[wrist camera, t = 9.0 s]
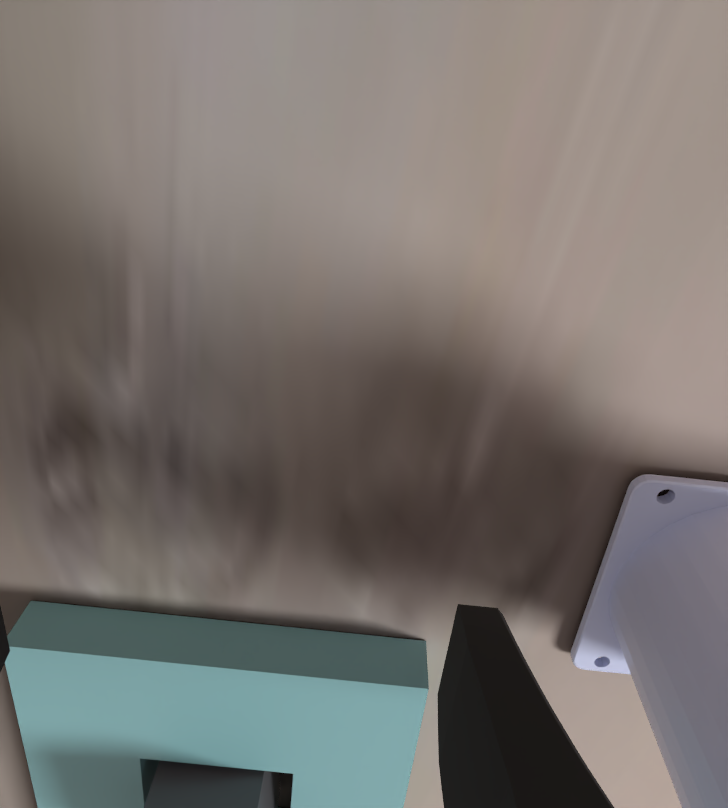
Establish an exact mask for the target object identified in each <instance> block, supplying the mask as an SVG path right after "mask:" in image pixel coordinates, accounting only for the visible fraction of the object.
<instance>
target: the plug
mask: <svg viewBox="0 0 728 808" xmlns="http://www.w3.org/2000/svg"><path fill="white" fill-rule="evenodd" d="M280 787H281V786H280V778H279V772H271V771H261V770H251V769H241V768H231V767H221V766H211V765H201V764H191V763H181V762H171V761H161V760H159V763H158V766H157V769H156V772H155V775H154V778H153V781H152V784H151V787H150V790H149V793H148V796H147V799H146V802H145V805H144V808H277V807H278V800H279V794H280Z"/></svg>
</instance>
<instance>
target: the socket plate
mask: <svg viewBox="0 0 728 808" xmlns="http://www.w3.org/2000/svg"><path fill="white" fill-rule="evenodd" d="M7 639H8V643H9V648H10V652H9V654H8V656H7V659H6V661H5V666H6V670H7V675H8V679H9V683H10V688H11V692H12V697H13V701H14V705H15V710H16V714H17V719H18V723H19V727H20V732H21V736H22V741H23V745H24V749H25V754H26V758H27V763H28V767H29V771H30V776H31V780H32V784H33V789H34V793H35V798H36V802H37V806H38V808H144V805H145V802H146V799H147V796H148V793H149V790H150V787H151V784H152V781H153V778H154V775H155V772H156V769H157V766H158V763H159V760H161V761H171V762H181V763H191V764H201V765H211V766H221V767H231V768H241V769H251V770H261V771H271V772H281V773H291V774H293V784H292V797H291V808H403V806H404V801H405V797H406V792H407V787H408V783H409V778H410V773H411V769H412V764H413V759H414V755H415V750H416V745H417V741H418V736H419V731H420V726H421V722H422V717H423V712H424V708H425V703H426V698H427V694H428V689H429V688H428V670H427V652H426V641H422V640H412V639H402V638H392V637H382V636H373V635H363V634H353V633H343V632H333V631H324V630H314V629H304V628H294V627H284V626H275V625H265V624H255V623H245V622H235V621H226V620H216V619H206V618H196V617H186V616H177V615H167V614H157V613H147V612H137V611H128V610H118V609H108V608H98V607H88V606H79V605H69V604H59V603H49V602H39V601H30V603H29V604H28V606H27V607H26V609H25V610H24V612H23V613H22V615H21V616H20V618H19V619H18V621H17V622H16V624H15V625H14V627H13V628H12V630H11V631H10V633H9V634H8V636H7ZM277 808H280V807H277Z"/></svg>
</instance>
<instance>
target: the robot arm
mask: <svg viewBox="0 0 728 808" xmlns="http://www.w3.org/2000/svg"><path fill="white" fill-rule="evenodd" d="M666 489H669V492H668V493H667V494H665V495H663V496H657V495H658V493H659V492H661V491H663V490H666ZM9 652H10V648H9V643H8V639H7V634H6V630H5V625H4V621H3V616H2V611H1V607H0V672H1V670H2V667H3V665H4V663H5V661H6V659H7V656H8V654H9ZM599 657H601V658H599ZM571 658H572V661H573V663H574V665H575V666H576V667H578V668H580V669H584V670H594V671H603V672H613V673H623V674H631V676H632V678H633V681H634V683H635V686H636V689H637V691H638V694H639V697H640V699H641V702H642V704H643V707H644V710H645V712H646V715H647V717H648V720H649V723H650V725H651V728H652V730H653V733H654V736H655V738H656V741H657V744H658V746H659V749H660V751H661V754H662V757H663V759H664V762H665V764H666V767H667V770H668V772H669V775H670V777H671V780H672V783H673V785H674V788H675V790H676V793H677V796H678V798H679V801H680V804H681V806H682V808H728V482H719V481H710V480H700V479H691V478H681V477H672V476H662V475H653V474H645V475H641V476H638V477H636V478H635V479H634V480H632V481H631V483H630V485H629V486H628V489H627V492H626V495H625V498H624V500H623V503H622V506H621V509H620V512H619V515H618V518H617V520H616V523H615V526H614V529H613V532H612V535H611V538H610V540H609V543H608V546H607V549H606V552H605V555H604V558H603V560H602V563H601V566H600V569H599V572H598V575H597V578H596V581H595V583H594V586H593V589H592V592H591V595H590V598H589V601H588V603H587V606H586V609H585V612H584V615H583V618H582V621H581V623H580V626H579V629H578V632H577V635H576V638H575V641H574V643H573V646H572V649H571ZM438 742H439V767H440V776H441V785H442V793H443V802H444V808H614V807H613V805H612V804H611V802H610V801H609V799H608V798H607V796H606V795H605V793H604V792H603V790H602V789H601V787H600V786H599V784H598V783H597V781H596V779H595V778H594V776H593V775H592V773H591V772H590V770H589V769H588V767H587V765H586V764H585V762H584V761H583V759H582V758H581V756H580V754H579V753H578V751H577V750H576V748H575V746H574V745H573V743H572V741H571V740H570V738H569V736H568V735H567V733H566V731H565V729H564V728H563V726H562V724H561V723H560V721H559V719H558V718H557V716H556V714H555V713H554V711H553V709H552V708H551V706H550V704H549V702H548V701H547V699H546V697H545V695H544V694H543V692H542V690H541V688H540V686H539V685H538V683H537V681H536V679H535V677H534V675H533V673H532V672H531V670H530V668H529V666H528V664H527V662H526V660H525V658H524V657H523V655H522V653H521V651H520V649H519V647H518V645H517V643H516V641H515V639H514V637H513V635H512V633H511V631H510V629H509V627H508V625H507V623H506V620H505V618H504V616H503V614H502V613H501V612H500V611H499V610H498V608H489V607H480V606H470V605H460V604H458V606H457V611H456V615H455V620H454V624H453V629H452V633H451V637H450V642H449V646H448V651H447V655H446V660H445V664H444V669H443V673H442V678H441V682H440V686H439V691H438Z"/></svg>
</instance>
